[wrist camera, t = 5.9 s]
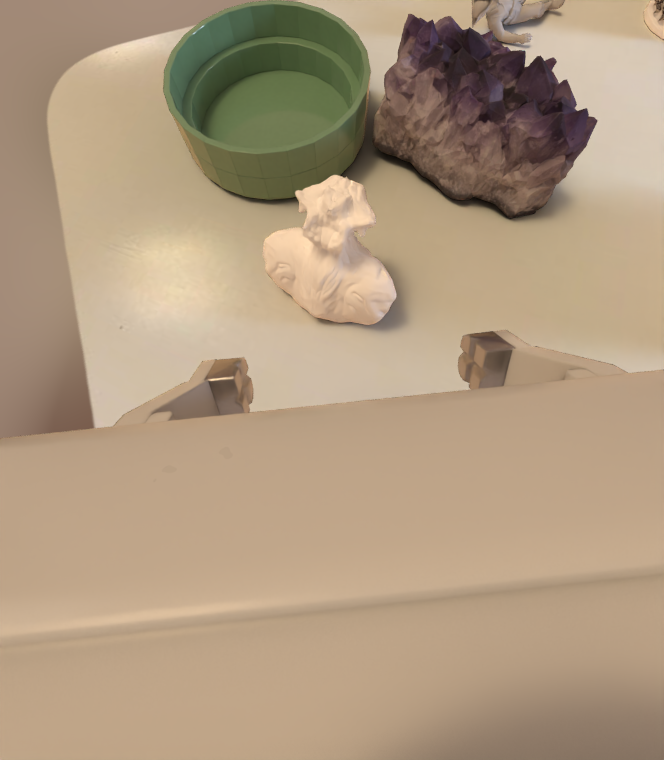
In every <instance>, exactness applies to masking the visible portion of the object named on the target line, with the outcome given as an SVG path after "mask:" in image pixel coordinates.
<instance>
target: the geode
mask: <svg viewBox="0 0 664 760" xmlns="http://www.w3.org/2000/svg"><path fill="white" fill-rule="evenodd" d="M492 37H493V30H492V31H490V32H488V33H486V34H483V35H480V34H479V33H478V32H476V31H474V30H473V29H471V28H470V27H469V29H466V30H462V29H461V28H460V27H459V25H458V24H457V23H456V22H455V21H454V20H453V18H452V17H451V16H447V17H444V18H442V19H440V20H439V21H438V22H437V23H436V24H434V22H433V20H431V21H429V22H428V23H427V22H426V21H425V20H423V19H422V18H419V19H418V18H417V17H415V16H414V15H412V14H408V18H407V21H406V23H405V26H404V29H403V34H402V38H401V42H400V46H399V49H398V59H397V63H396V64H394V65H393V66H392V67H391V68H390V69H389V70H388V71H387V72H386V74H385V79H384V87H385V96H384V98H383V100H382V102H381V105H380V107H379V109H378V111H377V112H376V114H375V119H374V133H373V145H374V146H375V147H377V148H378V149H379V150H381V151H382V152H383V153H386V154H389V155H393V156H396V157H398V158H400V159H402V160H404V161H407V162H410V163H411V164H412V165H413V166H414V167H415V169H416V170H417V171H418V172H419V173H420V174H421V176H423V177H425V178H427V179H429V180H430V181H431V182H433V183H434V184H435V185H436V186H437V187H438V188H439V189H440V190H441V191H442V192H443V193H444V194H446V195H447V196H449V197H450V198H451V199H456V200H467V199H471V198H472V197H476V198H479V199H482V200H485V201H487V202H490V203H494V204H495V205H496V206H497V207H498V208H500V210H501V211H502V212H503V213H504V214H505V215H506V216H508V217H509V218H510V219H511V218H516V217H520V216H525V215H530V214H534V213H535V212H536V210H538V209H540V208H542V207H543V206H544V205H545V204H546V203H547V201H548V199H549V198H550V196H551V195H552V193H553V191H554V188H555V186H556V184H558V183H559V182H560V181H561V180H562V179H564V178H565V177H566V175H567V173H568V172H569V170H570V169H571V168H572V167H573V163H574V161H575V159H576V158H577V157H578V156H579V154H580V153H581V152H582V151H583V150H584V148H585V147H586V145H587V143H588V140H589V138H590V136H591V134H592V131H593V129H594V127H595V125H596V123H597V120H596V119H595V118H594V117H588V115H589V114H588V111H587V108H586V109H583V110H579V111H576V109H575V107H576V105H577V104H576V101H575V98H574V96H573V93H572V91H571V88H570V86H569V84H568V81H567V79H566V80H563V81H562V82H561V83H560V84H559V83H558V80H557V78H556V77H555V75H554V73H553V72H552V69H553V67H554V65H555V64H556V62H557V61H556V59H554V58H550V59H548V60H546V61H544V60H543V58H542V57H541V56H537V57H536V58H535V60H534V61H533V62H532V63H531V64H530V65H529V66H528V67H524V66H525V53H526V52H525V51H521V50H519V51H510V50H509V48H508V47H504V46H503V45H502V43H500V42H495V41H492Z"/></svg>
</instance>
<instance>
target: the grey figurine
mask: <svg viewBox="0 0 664 760" xmlns="http://www.w3.org/2000/svg"><path fill="white" fill-rule="evenodd" d="M564 1H565V0H550V1H548V2H546V3H543V2H542V1H540V2H537V3H534V4H526V5H522V4H523V3H524V2H525V0H472V28H473V26H474V25H475V24H476V23H477V22H478V21H479V19H481V18H482V17H483V16H484V15H485V14H486V19H487V21H488V27H489V29H490V31H492V30H493V34H494V36H496V38H497V40H498V41H502V42H506V43H516V42H519V43H521V44H524V43H525V42H530V40H531V39H532V38H526V37H532V36H531V34H530V33H526V34H522V35H518V34H513V33H510V32H508V31H505V30H504V29H503V26H502V23H503V24H504V25H511V24H516V23H520V22H523V21H527V20H529V19H531V18H540V17H541V16H542V15H543V14H544V12H545V11H546V10H554V9H558V8H560V7H561V6H562V5H563V3H564ZM521 5H522V6H521Z"/></svg>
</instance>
